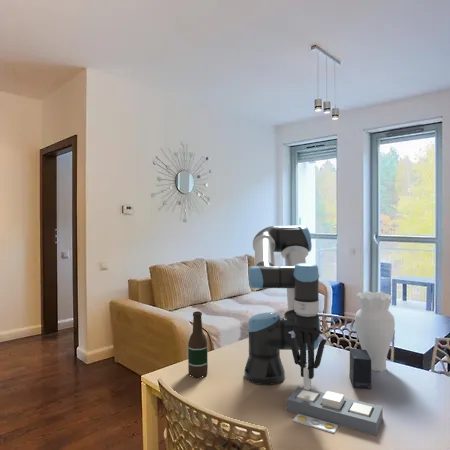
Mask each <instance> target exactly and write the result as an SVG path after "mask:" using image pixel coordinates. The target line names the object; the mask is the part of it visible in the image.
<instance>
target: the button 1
mask: <svg viewBox="0 0 450 450" xmlns="http://www.w3.org/2000/svg"><path fill="white" fill-rule="evenodd" d="M318 398H319V394H318V393H314V392H309V391H305V390H302V391H301V392H300V394H299V395H298V396H297V399H300V400H304V401H308V402H312V403H315V401H316V400H317V399H318Z"/></svg>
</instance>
